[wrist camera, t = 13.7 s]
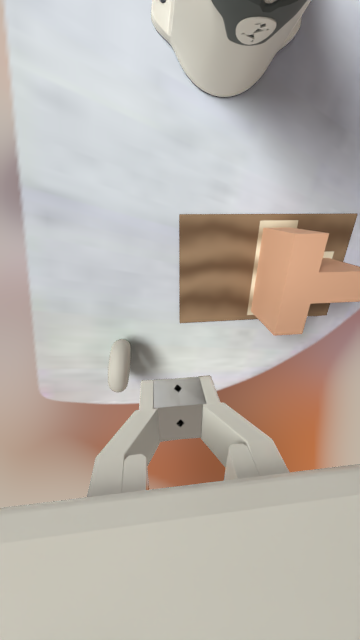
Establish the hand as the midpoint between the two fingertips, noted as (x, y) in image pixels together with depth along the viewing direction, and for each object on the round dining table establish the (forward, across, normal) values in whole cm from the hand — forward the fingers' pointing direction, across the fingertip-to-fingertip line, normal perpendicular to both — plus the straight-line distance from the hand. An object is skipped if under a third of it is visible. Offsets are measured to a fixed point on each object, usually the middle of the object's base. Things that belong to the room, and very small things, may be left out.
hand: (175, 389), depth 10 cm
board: (+34, -20, +4) cm, 40 cm away
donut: (+34, +8, +20) cm, 41 cm away
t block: (+34, -26, +4) cm, 43 cm away
